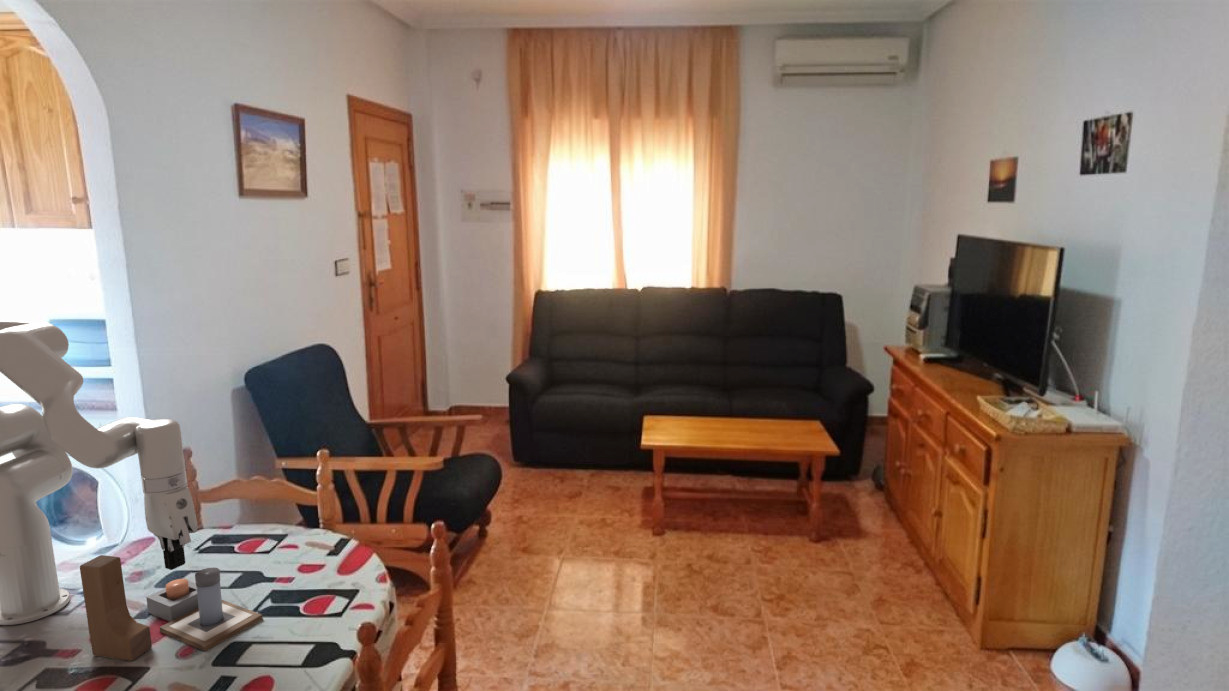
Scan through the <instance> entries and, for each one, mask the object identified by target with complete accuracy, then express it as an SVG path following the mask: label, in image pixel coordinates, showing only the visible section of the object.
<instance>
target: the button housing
mask: <svg viewBox="0 0 1229 691" xmlns="http://www.w3.org/2000/svg"><path fill="white" fill-rule="evenodd" d="M188 584H189V594H187V595H185V596H183V597H181V598H179V599H177V600H169V599H167V595H166V587H164V588H163V589H161V590H159V591H156V592H154V593H153V594H150V595H148V596H146V605H147V612H148V614H151V615H152V616H155V617H157V618H160V619H163V620H164V621H168V623H169V622H171V621H173V620H175V619H177V618H179V617H181V616H183V615H185V614H187V613H189V612H191V611H193V610H195V609H197V608H199V607H198V596H197V586H196V582H194V581H191V580H188Z"/></svg>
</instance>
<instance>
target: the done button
mask: <svg viewBox="0 0 1229 691" xmlns="http://www.w3.org/2000/svg"><path fill="white" fill-rule="evenodd" d="M188 581H189V580H188V579H187V578H177V579H174V580H170V581H169V582H168V583H166V584H165V586H164V588H166V595H167V599H169V600H177V599H179V598H181V597H183V596H185V595H187V594H189V584H188Z"/></svg>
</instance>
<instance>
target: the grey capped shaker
mask: <svg viewBox="0 0 1229 691" xmlns="http://www.w3.org/2000/svg"><path fill="white" fill-rule="evenodd" d="M220 570H221V569H219V568H218V567H206V568H202V569H201V570H198V571H196V572H195V574H194V578H195V579H194V580H195V583H196V586H197V596H198V607H199V618H200V624H201V625H212V624H216V623H218V622H220V621H221V620H222V619H223V610H222V600H223V599H222V590H221V571H220Z"/></svg>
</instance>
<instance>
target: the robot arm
mask: <svg viewBox="0 0 1229 691" xmlns="http://www.w3.org/2000/svg"><path fill="white" fill-rule="evenodd" d="M68 350H69V340H68V337H67V336H66V334H65V332H63V331H62V329H60V328H59V327H58V326H56V325H54V324H52V323H49V322H44V321H30V320H29V321H27V320H26V321H25V320H5V319H2V320H1V319H0V373H1V374H2V375H3V376H4V377H6V378H7V379H9V380H10V381H11V382H12V383H13V384H14V385H16V386H17V387H18V388H19V389H21V391H23V392H25V394H26V395H27V396H29V397H30V398H31V399H33V401H35V402H36V403H37V404H38V405H39V406H40V407H41V411H42V412H41V413H42V414H41V413H40V412H39V411H37V410H36V408H33V407H31V406H29V405H26V404H22V403H11V404H9V403H8V404H6V405H5V404H4V405H1V406H0V458H1V457H4V456H6V455H9V454H12V455H13V456H14V458H12V459H10V460H7V461H5V462H3V463H0V626H13V625H15V626H16V625H20V624H25V623H26V624H27V623H30V622H31V623H32V622H33V621H38V620H40V619H43V618H46V617H48V616H50V615H53V614H54V613H56V612H58V611H60V610H61V609H63V608H64V607H65V606H66V605H67V604H68V603H69V602H70V600H71V595H70V592H69V591H68V590H67V589H65V588H60V585H59V578H58V571H57V566H56V565H57V564H56V558H55V553H54V545H53V539H52V532H51V527H50V524H49V520H48V518H47V515H46V514H45V513H44V512H43V511H42V510H41V509H40V508H39V506H38V504H37V501H39V500H41V499H42V498H45V497H47V496H49V495H51V494H53V493H54V492H56V491H58V490H61V489H62V488H63V487H65V486H66V485H67V484H68V483H69V482H70V480H71V479H72V477H73V464H72V462H71V459H70V457H71V458H72V459H74V460H75V461H76V462H78V463H80V464H81V465H83V466H85V467H88V468H92V469H106V468H109V467H110V466H113V465H115V464H117V463H119V462H122V461H123V460H125V459H127V458H129V457H133V456H135V455H137V456H138V457H137V458H138V462H139V463H138V464H139V465H138V466H139V472H140V480H141V488H142V493H143V495H144V496H143V501H144V502H143V504H144V514H145V518H144V519H145V524H146V528H147V530H148V532H149V533H151V534H153V535H154V536H155V537H156V538H157V539H158V541H159V544H160V548H161V549H162V553H163V561H164V568H165V569H167V570H170V571H173V570H175V569H177V568H179V567H181V566H184V565H186V556H185V546H186V545H188V544H190V543H192V539H191V537H190V536H191V535H190V533H193V534H194V533H196V532H198V522H197V521H198V520H197V515H196V510H195V505H194V501H193V496H192V494H191V492H190V489H189V486H188V481H187V480H188V478H187V472H186V470H187V469H186V465H185V457H184V449H183V448H184V447H183V441H182V432H181V427H180V424H179V423H180V422H178V421H177V420H175V419H171V418H160V419H159V418H158V419H149V418H142V417H135V416H128V417H121V418H120V419H117V420H115V421H113V422H109V423H106V424H105V425H102V426H99V427H97V428H96V427H95V426H94V425H92V424H91V423H90V422H89V421H88V420H87V419H85V418H84V417H83V416H82V414H80V412H79V410H77V407H76V406H75V400H74V398H75V395H76V394H77V393H78V392H79V391H80V390H81V388H82V387H83V384H84V377H83V375H82V374H81V373H80V372H79V371H78V370H76V369H75V368H74V367H73V366H72V365H71V364H69V363H67V362H66V361H65V360H64V359H63V357H65V356H66V354H67V353H68ZM68 455H69V456H70V457H69V456H68Z"/></svg>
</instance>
